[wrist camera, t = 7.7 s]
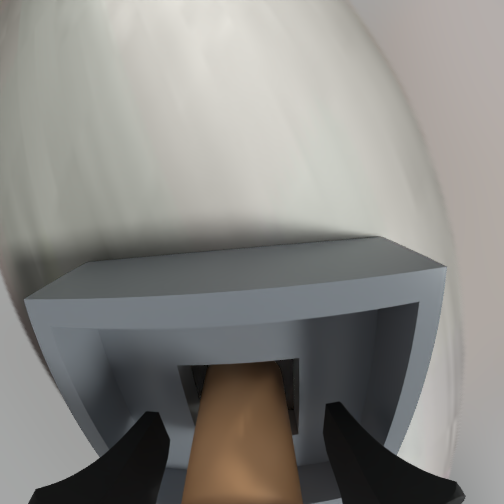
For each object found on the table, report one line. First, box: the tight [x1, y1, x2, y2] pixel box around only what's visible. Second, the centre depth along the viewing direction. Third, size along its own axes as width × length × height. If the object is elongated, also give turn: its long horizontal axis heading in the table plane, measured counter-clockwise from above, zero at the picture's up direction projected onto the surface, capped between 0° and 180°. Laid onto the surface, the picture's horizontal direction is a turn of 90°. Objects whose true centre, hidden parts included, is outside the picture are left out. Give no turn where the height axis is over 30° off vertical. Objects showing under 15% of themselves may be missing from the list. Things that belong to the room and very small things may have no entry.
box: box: [24, 237, 447, 504], centre depth 11 cm, size 14×14×5 cm
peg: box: [181, 361, 303, 504], centre depth 10 cm, size 4×4×8 cm
